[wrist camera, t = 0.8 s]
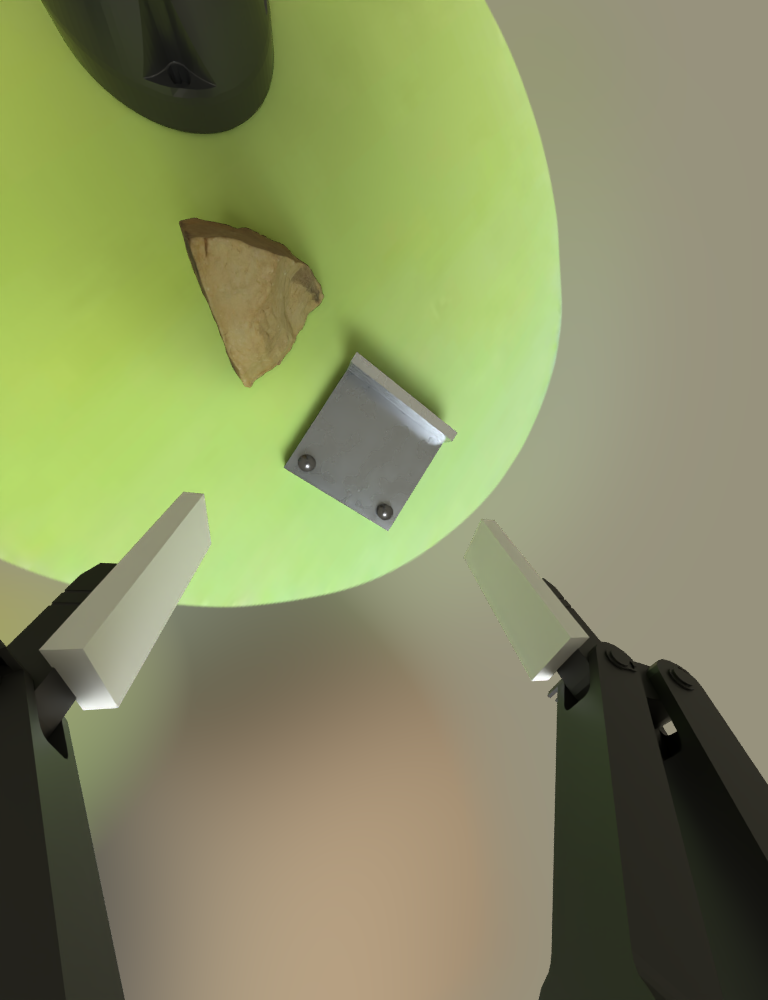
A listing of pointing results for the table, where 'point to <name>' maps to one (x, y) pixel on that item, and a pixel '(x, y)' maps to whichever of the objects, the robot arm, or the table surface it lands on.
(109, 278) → the table surface
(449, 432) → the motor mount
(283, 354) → the rock
